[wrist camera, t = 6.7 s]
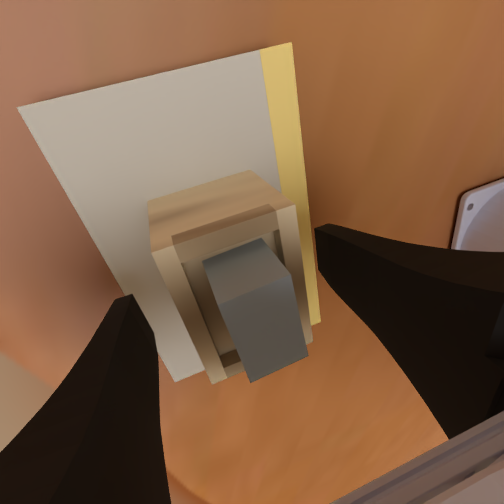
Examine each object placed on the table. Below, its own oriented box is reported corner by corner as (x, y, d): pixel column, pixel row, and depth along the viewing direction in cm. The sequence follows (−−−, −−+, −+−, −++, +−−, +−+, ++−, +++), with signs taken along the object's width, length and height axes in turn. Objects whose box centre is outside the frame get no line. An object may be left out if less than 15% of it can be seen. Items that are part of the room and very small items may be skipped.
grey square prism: (281, 311, 11) (308, 355, 9) (232, 333, 11) (250, 382, 9) (261, 237, 9) (290, 274, 8) (201, 260, 9) (217, 304, 7)
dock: (305, 301, 20) (320, 321, 18) (171, 354, 18) (175, 382, 16) (270, 47, 12) (291, 41, 10) (35, 103, 10) (16, 107, 9)
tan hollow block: (273, 282, 15) (312, 341, 12) (194, 312, 15) (212, 384, 11) (250, 169, 12) (295, 204, 9) (147, 200, 11) (151, 252, 8)
